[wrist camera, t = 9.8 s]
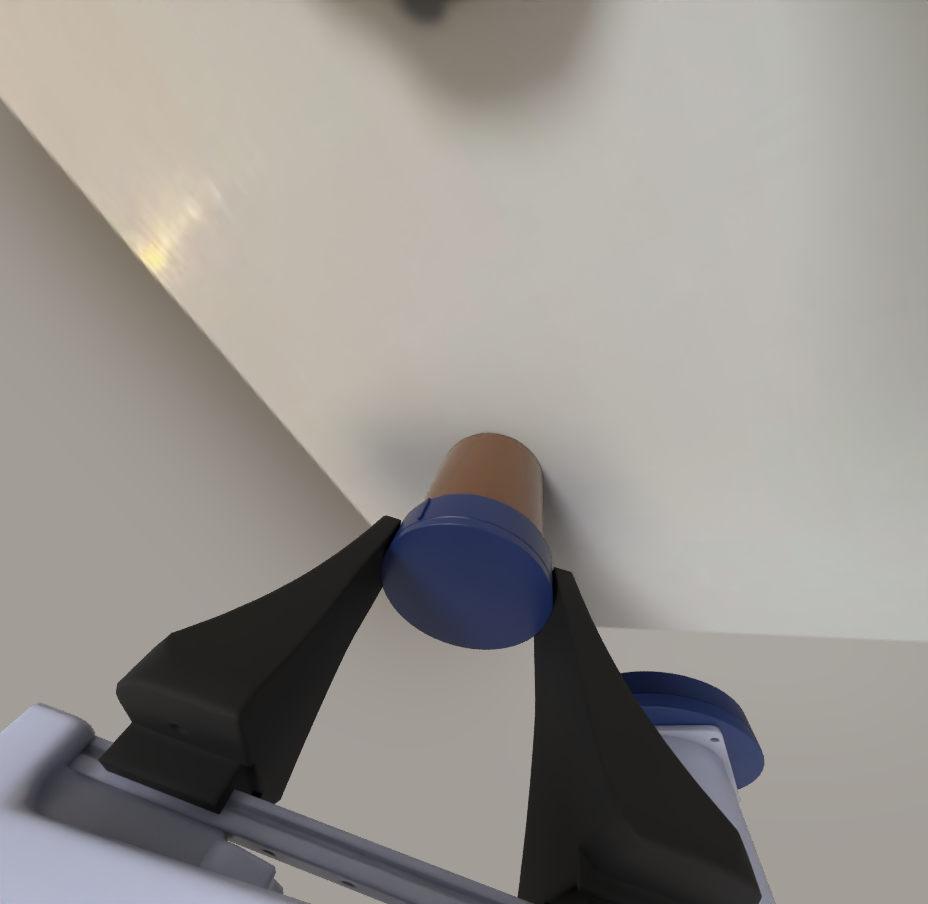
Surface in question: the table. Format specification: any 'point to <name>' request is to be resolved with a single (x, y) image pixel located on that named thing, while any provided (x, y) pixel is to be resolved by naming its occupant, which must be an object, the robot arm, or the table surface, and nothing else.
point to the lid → (470, 572)
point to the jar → (493, 474)
